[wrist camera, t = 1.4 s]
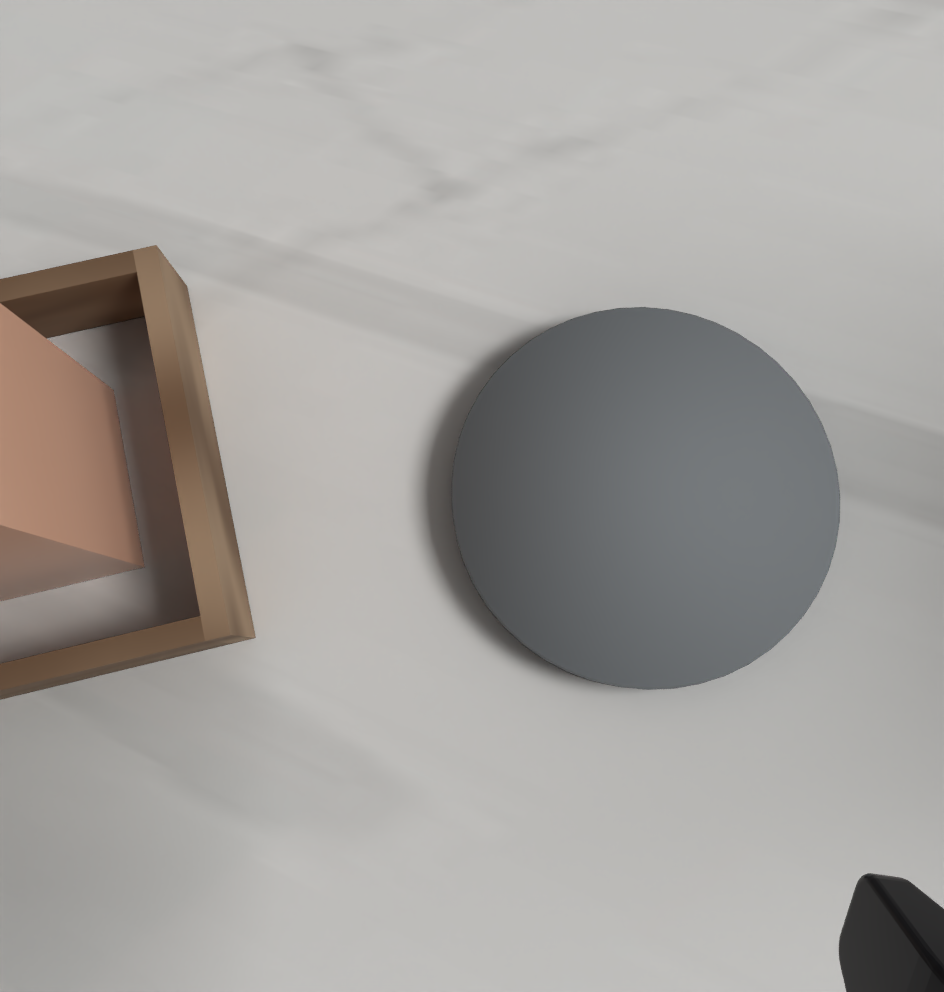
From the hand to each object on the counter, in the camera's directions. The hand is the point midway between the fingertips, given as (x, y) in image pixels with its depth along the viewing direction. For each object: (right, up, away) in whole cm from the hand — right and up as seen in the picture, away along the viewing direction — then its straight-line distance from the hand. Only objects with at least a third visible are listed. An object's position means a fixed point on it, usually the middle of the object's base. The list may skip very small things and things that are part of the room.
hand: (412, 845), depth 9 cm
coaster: (+5, +3, +15) cm, 16 cm away
